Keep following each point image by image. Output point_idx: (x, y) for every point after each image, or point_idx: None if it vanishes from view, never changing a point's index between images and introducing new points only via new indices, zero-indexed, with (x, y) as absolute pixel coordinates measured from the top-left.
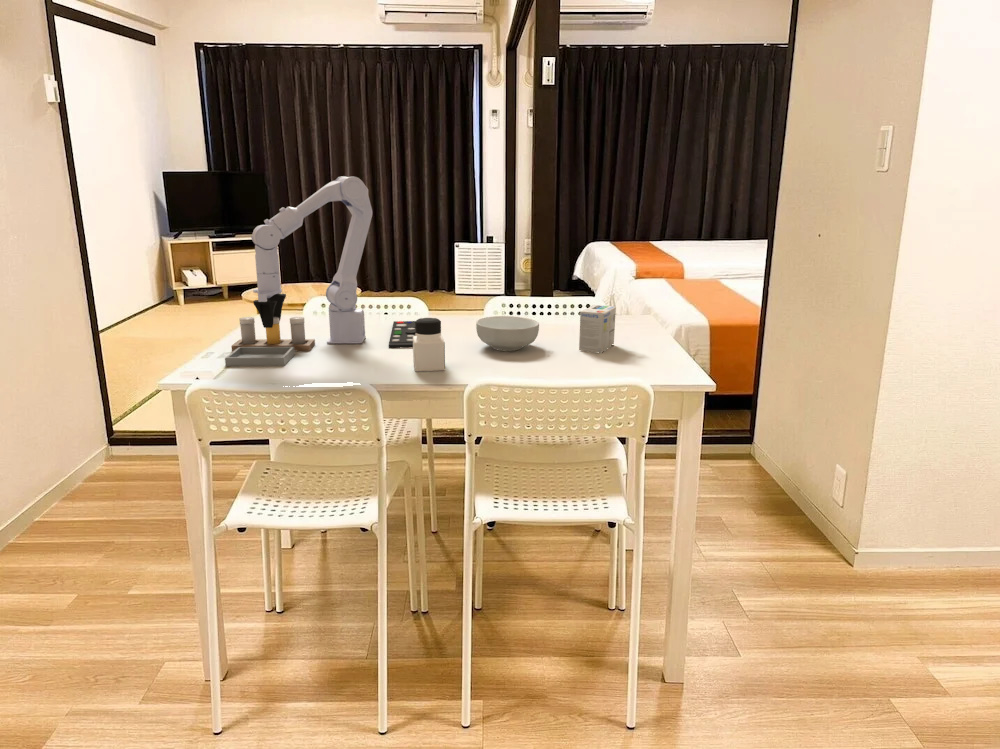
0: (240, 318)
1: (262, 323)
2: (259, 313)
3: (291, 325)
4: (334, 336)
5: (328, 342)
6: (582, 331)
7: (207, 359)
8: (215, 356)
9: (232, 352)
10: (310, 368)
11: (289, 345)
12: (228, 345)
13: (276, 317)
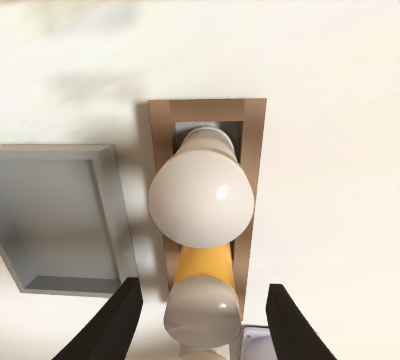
0: (195, 162)
1: (116, 291)
2: (54, 357)
3: (186, 347)
4: (253, 357)
5: (243, 332)
6: None
7: (24, 42)
8: (73, 59)
9: (17, 153)
10: (38, 315)
11: (168, 279)
12: (258, 44)
13: (225, 338)
